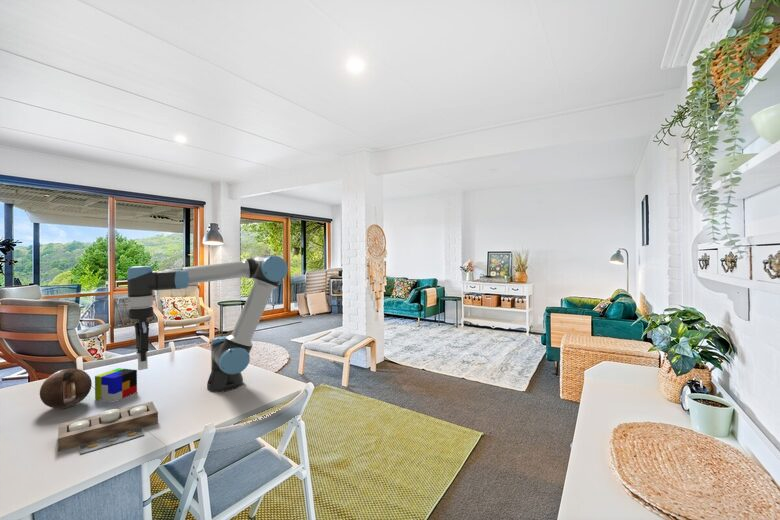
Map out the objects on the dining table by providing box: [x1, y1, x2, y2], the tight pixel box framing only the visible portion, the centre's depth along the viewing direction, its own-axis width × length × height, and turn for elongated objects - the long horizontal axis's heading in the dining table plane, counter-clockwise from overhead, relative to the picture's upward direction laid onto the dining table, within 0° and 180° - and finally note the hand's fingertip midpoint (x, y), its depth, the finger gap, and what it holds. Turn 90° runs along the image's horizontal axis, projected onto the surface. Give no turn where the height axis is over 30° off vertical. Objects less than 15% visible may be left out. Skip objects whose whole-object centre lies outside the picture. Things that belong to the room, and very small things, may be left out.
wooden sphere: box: [39, 368, 93, 410], centre depth 135 cm, size 15×15×15 cm
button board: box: [57, 401, 159, 455], centre depth 116 cm, size 26×19×4 cm
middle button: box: [100, 408, 120, 424], centre depth 118 cm, size 5×5×4 cm
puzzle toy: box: [94, 368, 138, 402], centre depth 146 cm, size 10×10×10 cm
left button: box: [69, 420, 89, 432], centre depth 113 cm, size 5×5×4 cm
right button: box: [130, 406, 147, 416], centre depth 124 cm, size 5×5×4 cm
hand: (142, 368), depth 128 cm, fingers closed
